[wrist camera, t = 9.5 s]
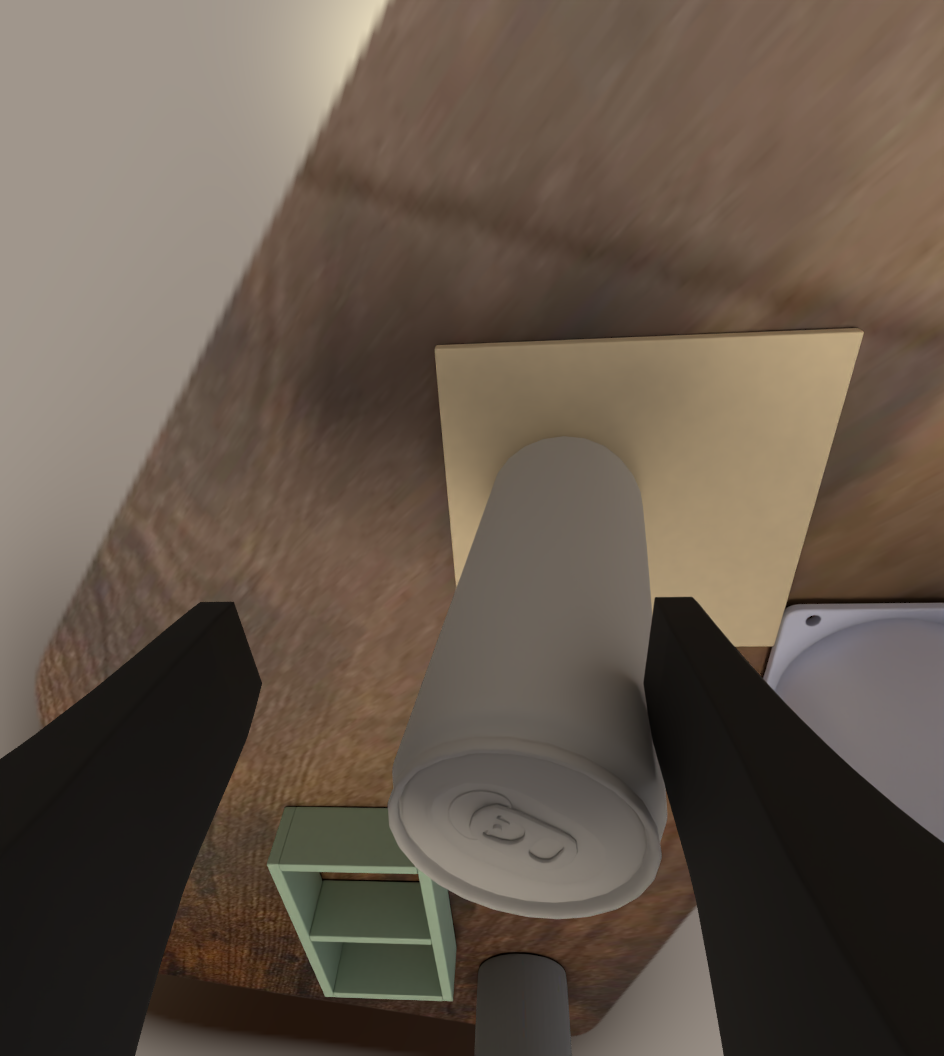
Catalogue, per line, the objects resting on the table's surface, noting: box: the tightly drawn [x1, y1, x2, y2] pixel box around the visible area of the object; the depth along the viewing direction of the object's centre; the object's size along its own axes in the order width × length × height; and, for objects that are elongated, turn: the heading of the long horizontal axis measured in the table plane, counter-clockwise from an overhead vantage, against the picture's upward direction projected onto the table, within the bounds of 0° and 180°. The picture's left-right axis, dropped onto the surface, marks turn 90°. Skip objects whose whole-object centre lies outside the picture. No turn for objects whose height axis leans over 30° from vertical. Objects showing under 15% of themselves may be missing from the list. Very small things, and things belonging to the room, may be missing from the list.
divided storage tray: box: [267, 807, 456, 1001], centre depth 35 cm, size 8×15×3 cm, turn 3°
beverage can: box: [388, 436, 667, 919], centre depth 15 cm, size 5×5×12 cm
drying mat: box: [434, 328, 864, 647], centre depth 21 cm, size 12×12×1 cm
